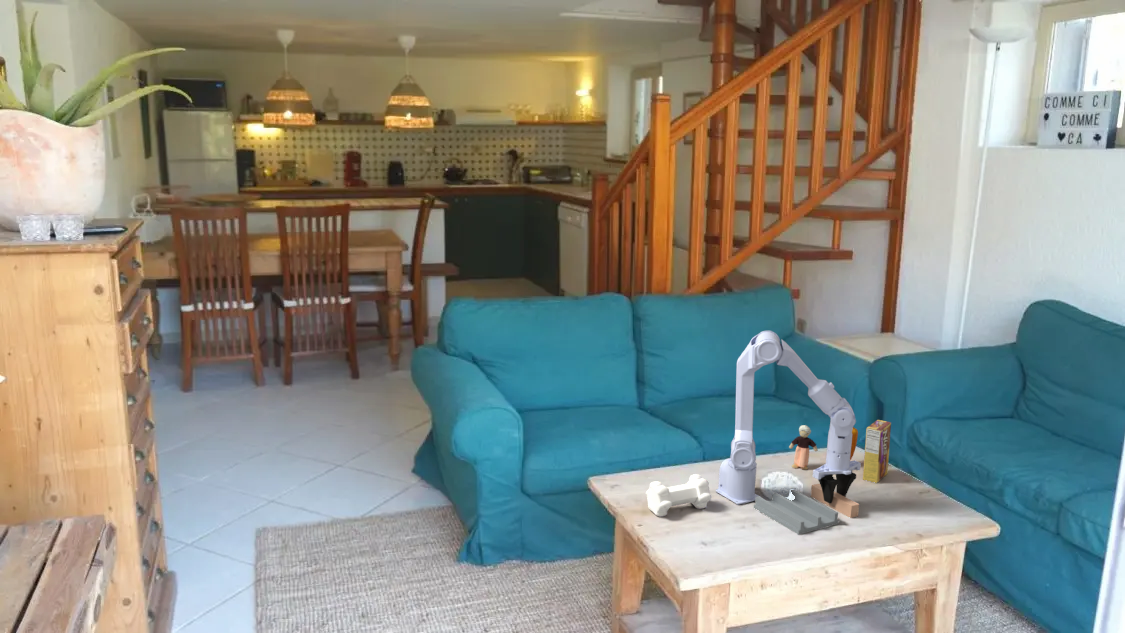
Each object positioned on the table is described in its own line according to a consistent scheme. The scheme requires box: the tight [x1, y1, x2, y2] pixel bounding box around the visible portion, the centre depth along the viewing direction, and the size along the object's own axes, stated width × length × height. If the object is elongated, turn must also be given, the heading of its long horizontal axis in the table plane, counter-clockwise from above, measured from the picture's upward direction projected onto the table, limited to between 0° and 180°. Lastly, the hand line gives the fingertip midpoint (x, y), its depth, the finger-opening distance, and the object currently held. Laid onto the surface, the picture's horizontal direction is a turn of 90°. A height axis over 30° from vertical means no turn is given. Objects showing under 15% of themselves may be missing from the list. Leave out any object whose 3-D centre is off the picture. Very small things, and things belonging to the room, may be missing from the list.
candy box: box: [862, 419, 892, 484], centre depth 236 cm, size 9×4×15 cm, turn 141°
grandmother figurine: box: [788, 424, 818, 471], centre depth 242 cm, size 8×4×13 cm, turn 81°
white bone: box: [645, 473, 712, 518], centre depth 214 cm, size 15×9×8 cm, turn 115°
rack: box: [753, 489, 840, 535], centre depth 212 cm, size 16×13×3 cm
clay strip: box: [810, 483, 860, 519], centre depth 218 cm, size 14×2×4 cm, turn 27°
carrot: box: [850, 426, 859, 461], centre depth 244 cm, size 5×5×15 cm
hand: (834, 500), depth 218 cm, fingers open, 4 cm apart
